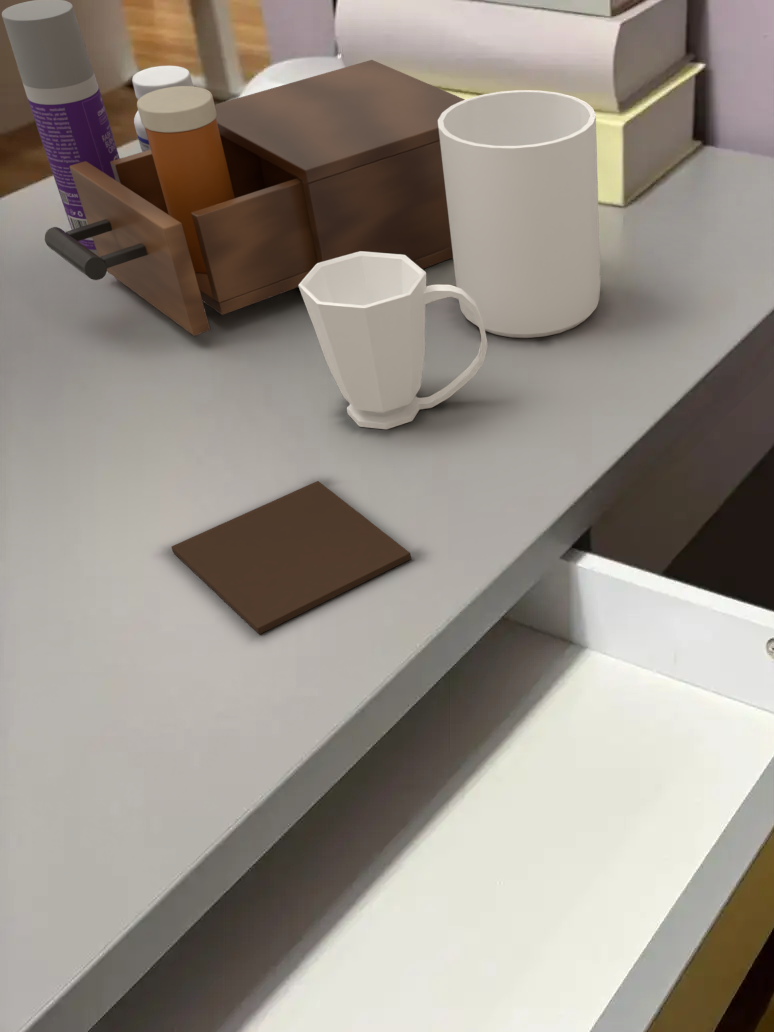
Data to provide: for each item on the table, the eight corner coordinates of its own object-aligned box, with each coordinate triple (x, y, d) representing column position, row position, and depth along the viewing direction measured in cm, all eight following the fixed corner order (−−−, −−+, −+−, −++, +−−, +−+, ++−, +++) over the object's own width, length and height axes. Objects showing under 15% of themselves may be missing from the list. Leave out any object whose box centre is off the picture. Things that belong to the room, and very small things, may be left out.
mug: (453, 344, 80) (430, 150, 71) (466, 261, 88) (446, 78, 79) (601, 339, 79) (596, 145, 71) (600, 257, 88) (595, 73, 79)
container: (152, 245, 91) (84, 10, 80) (90, 263, 89) (11, 25, 78) (130, 224, 93) (61, -6, 82) (69, 240, 92) (-10, 7, 81)
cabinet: (331, 304, 84) (305, 170, 77) (224, 236, 91) (193, 110, 85) (502, 239, 90) (491, 110, 84) (389, 181, 98) (372, 59, 91)
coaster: (259, 634, 60) (257, 628, 60) (172, 552, 65) (170, 546, 65) (411, 559, 64) (410, 552, 64) (319, 486, 69) (318, 480, 69)
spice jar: (201, 281, 82) (157, 117, 75) (168, 258, 85) (123, 98, 77) (262, 259, 84) (225, 98, 77) (228, 238, 87) (190, 80, 79)
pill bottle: (222, 195, 96) (188, 56, 89) (243, 221, 93) (209, 78, 86) (153, 211, 95) (113, 70, 88) (171, 237, 92) (131, 93, 84)
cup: (325, 386, 76) (298, 255, 70) (486, 369, 77) (473, 239, 71) (326, 448, 72) (297, 313, 66) (498, 429, 73) (485, 294, 67)
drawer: (133, 359, 78) (98, 249, 72) (44, 287, 85) (7, 183, 80) (371, 270, 85) (354, 166, 80) (271, 211, 92) (249, 112, 87)
